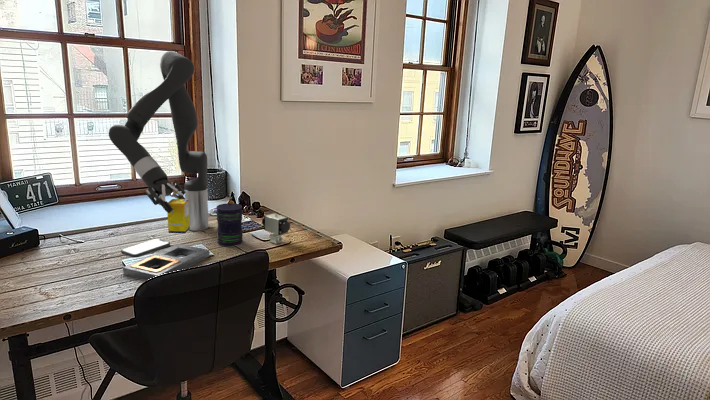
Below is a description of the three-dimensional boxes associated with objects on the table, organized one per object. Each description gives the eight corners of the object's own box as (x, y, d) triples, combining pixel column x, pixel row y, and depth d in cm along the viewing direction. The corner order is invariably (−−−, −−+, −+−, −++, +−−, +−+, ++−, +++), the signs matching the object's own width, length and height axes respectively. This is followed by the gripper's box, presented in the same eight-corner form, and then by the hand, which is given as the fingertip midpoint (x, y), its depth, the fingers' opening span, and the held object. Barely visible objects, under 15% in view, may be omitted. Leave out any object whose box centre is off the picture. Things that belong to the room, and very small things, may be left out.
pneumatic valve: (281, 247, 190) (282, 218, 187) (261, 240, 197) (261, 212, 194) (291, 243, 194) (292, 215, 191) (271, 237, 201) (271, 209, 198)
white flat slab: (134, 259, 173) (171, 246, 187) (134, 255, 173) (171, 242, 186) (119, 254, 178) (157, 241, 191) (119, 249, 177) (156, 237, 190)
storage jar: (241, 246, 189) (241, 209, 185) (216, 246, 187) (214, 210, 183) (243, 238, 198) (242, 203, 195) (218, 238, 197) (217, 203, 193)
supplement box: (173, 228, 174) (171, 198, 171) (190, 228, 174) (189, 199, 171) (167, 233, 168) (166, 202, 165) (185, 233, 168) (184, 203, 166)
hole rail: (123, 274, 159) (122, 266, 158) (177, 249, 182) (177, 242, 182) (158, 282, 154) (157, 274, 153) (209, 256, 177) (209, 249, 177)
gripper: (140, 169, 162) (170, 207, 161) (170, 162, 174) (198, 197, 174) (129, 182, 165) (158, 220, 164) (159, 175, 178) (186, 209, 177)
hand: (178, 208), depth 169 cm, fingers closed on supplement box, 7 cm apart
